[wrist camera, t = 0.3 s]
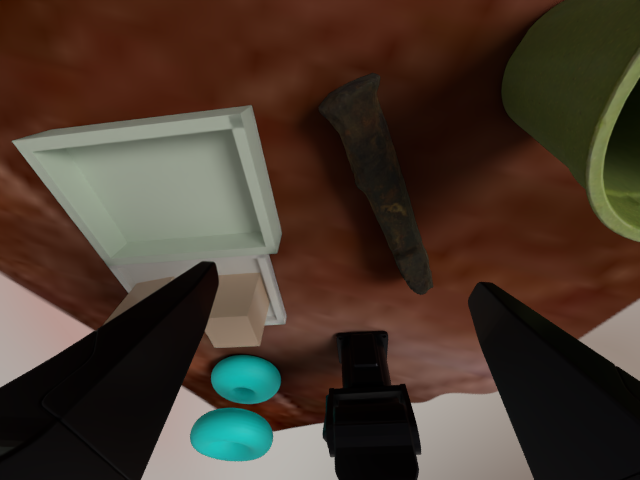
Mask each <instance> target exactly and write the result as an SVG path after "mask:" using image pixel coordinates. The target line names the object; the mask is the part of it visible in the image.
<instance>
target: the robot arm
mask: <svg viewBox="0 0 640 480" xmlns="http://www.w3.org/2000/svg"><path fill="white" fill-rule="evenodd" d="M218 286H219V277H218V271H217V266H216V263H215V262H213V261H201V262H200V263H198V264H196V265H195V266H193V267H192V268H190V269H189V270H187V271H186V272H184V273H183V274H181V275H180V276H178V277H176V278H175V279H173V280H172V281H170V282H169V283H167V284H166V285H164V286H163V287H161V288H160V289H158V290H157V291H155V292H153V293H152V294H150V295H149V296H147V297H146V298H144V299H143V300H141V301H140V302H138V303H137V304H135V305H133V306H132V307H130V308H129V309H127V310H126V311H124V312H123V313H121V314H120V315H118V316H117V317H115V318H113V319H112V320H110V321H109V322H107V323H106V324H104V325H103V326H101V327H100V328H98V329H97V331H93V332H92V333H90V334H89V335H87V336H86V337H84V338H83V339H81V340H80V341H78V342H76V343H75V344H73V345H72V346H70V347H68V348H67V349H65V350H64V351H62V352H60V353H59V354H57V355H56V356H54V357H52V358H51V359H49V360H47V361H45V362H44V363H42V364H40V365H39V366H37V367H35V368H34V369H32V370H30V371H28V372H27V373H25V374H23V375H22V376H20V377H18V378H17V379H14V380H13V381H11V382H9V383H7V384H6V385H4V386H2V387H0V480H141V478H142V476H143V473H144V471H145V469H146V466H147V464H148V462H149V459H150V457H151V455H152V452H153V450H154V447H155V445H156V443H157V441H158V438H159V436H160V434H161V431H162V429H163V427H164V424H165V422H166V420H167V417H168V415H169V413H170V410H171V408H172V406H173V403H174V401H175V399H176V396H177V394H178V392H179V389H180V387H181V385H182V383H183V380H184V378H185V376H186V373H187V371H188V369H189V366H190V364H191V362H192V359H193V357H194V355H195V352H196V350H197V348H198V345H199V343H200V341H201V338H202V336H203V334H204V331H205V329H206V326H207V323H208V320H209V316H210V313H211V310H212V306H213V303H214V300H215V296H216V293H217V290H218ZM468 305H469V309H470V312H471V316H472V319H473V323H474V326H475V330H476V333H477V337H478V340H479V343H480V346H481V349H482V352H483V354H484V357H485V359H486V362H487V364H488V366H489V369H490V371H491V374H492V376H493V379H494V381H495V384H496V386H497V389H498V391H499V394H500V396H501V399H502V401H503V404H504V406H505V408H506V411H507V413H508V416H509V418H510V421H511V423H512V426H513V428H514V431H515V433H516V436H517V438H518V441H519V443H520V445H521V448H522V451H523V453H524V455H525V458H526V460H527V463H528V465H529V467H530V470H531V473H532V475H533V478H534V480H640V381H638V380H637V379H636V378H634V377H633V376H631V375H630V374H628V373H627V372H625V371H624V370H622V369H621V368H619V367H617V366H615V365H614V364H613V363H612V362H610V361H609V360H607V359H605V358H604V357H603V356H601V355H599V354H598V353H596V352H595V351H593V350H592V349H591V348H589V347H588V346H586V345H585V344H583V343H582V342H580V341H579V340H577V339H576V338H574V337H573V336H571V335H570V334H568V333H567V332H565V331H564V330H562V329H561V328H559V327H558V326H556V325H555V324H553V323H552V322H550V321H549V320H547V319H546V318H544V317H543V316H541V315H540V314H538V313H537V312H535V311H534V310H532V309H531V308H529V307H528V306H526V305H525V304H523V303H522V302H520V301H519V300H517V299H516V298H514V297H513V296H511V295H510V294H508V293H507V292H505V291H504V290H502V289H501V288H499V287H498V286H496V285H495V284H493V283H490V282H479V283H477V285H476V286H475V288H474V290H473V291H472V293H471V295H470V297H469V299H468ZM336 339H337V347H338V355H339V362H340V363H341V364H342V383H343V388H340V389H334V388H329V395H327V396H326V414H325V420H324V427H323V439H324V440H325V441H326V442H327V445H328V448H329V453H330V457H335V472H336V475H337V477H338V479H339V480H417V478H418V473H419V468H418V462H417V457H416V455H420V454H421V445H420V439H419V433H418V428H417V424H416V420H415V416H414V413H413V409H412V406H411V402H410V399H409V395H408V392H407V389H406V385H405V384H400V385H391V380H390V375H389V370H388V364H387V348H388V333H387V332H385V331H381V332H360V333H340V334H337V335H336Z"/></svg>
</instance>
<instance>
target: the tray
mask: <svg viewBox="0 0 640 480" xmlns="http://www.w3.org/2000/svg"><path fill="white" fill-rule="evenodd" d="M201 261H213V262H215V263H216V266H217V271H218V275H230V274H245V273H261V276H262V279H263V282H264V285H265V288H266V291H267V294H268V297H269V300H270V303H269V308H268V312H267V317H266V321H265V325H280V324H285V323H286V312H285V309H284V305H283V302H282V298H281V295H280V291H279V288H278V284H277V281H276V277H275V274H274V270H273V267H272V263H271V260H270V256H269V254H263V255H249V256H236V257H222V258H209V259H195V260H182V261H168V262H155V263H141V264H128V265H114V266H108V267H109V269H110V270H111V271H112V272H113V274H114V275H115V276H116V278H117V279H118V280H119V282H120V283H121V284H122V285H123V287H124V288H125V289H126V291H127V292H128V293H129V292H130V291H131V290H132V289H133V288H134V286H135V285H136V284H137V283H141V282H146V281H151V280H157V279H162V278H167V277H173V276H174V278H176V277H178V276H180V275H181V274H183V273H184V272H186V271H187V270H189V269H190V268H192V267H193V266H195V265H196V264H198V263H200V262H201ZM106 265H107V264H106Z"/></svg>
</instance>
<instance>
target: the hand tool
mask: <svg viewBox="0 0 640 480" xmlns="http://www.w3.org/2000/svg"><path fill="white" fill-rule="evenodd" d="M379 84H380V76H379V75H377V74H374V73H371V74H369V75H366V76H363V77H360V78H358V79H356V80H353V81H351V82H349V83H347V84H345V85H343V86H341V87H339V88H338V89H336V90H334V91H333V92H331V93H329V94H328V96H327V97H326V98H325V99H324V100H323V102H322V103H321V104H320V106H319V112H320V113H321V114H322V115H323V116H324V117H325V118H326V119H328V120H329V121H330V123H331V124H332V125H333V127H334V128H335V130H337V131H338V133H339V134H340V137H341V140H342V143H343V145H344V147H345V150H346V154H347V158H348V160H349V162H350V164H351V169H352V172H353V173H354V176H355V184H356V186H357V187H358V189H360V190H362V191H363V192H364V193H365V195H366V196H367V198H368V200H369V202H370V205H371V207H372V209H373V211H374V214H375V216H376V218H377V220H378V222H379V224H380V226H381V229H382V231H383V233H384V235H385V237H386V240H387V243H388V246H389V248H390V250H391V251H392V253H393V256H394V259H395V262H396V264H397V266H398V269H399V270H400V273H401V275H402V277H403V278H404V280H405V281H406V283H407V284H408V286H409V287H410V288H411V289H412V290H413V291H414V292H415V293H417V294H420V295H422V294H425V293H426V292H427V291H428V290H429V289H430V288H433V282H432V274H431V271H430V269H429V260H428V255H427V252H426V250H425V248H424V246H423V244H422V239H421V236H420V233H419V230H418V227H417V223H416V221H415V217H414V213H413V210H412V206H411V202H410V198H409V195H408V192H407V189H406V185H405V182H404V178H403V176H402V173H401V169H400V166H399V162H398V159H397V155H396V152H395V149H394V146H393V143H392V140H391V136H390V133H389V129H388V125H387V122H386V120H385V118H384V116H383V113H382V110H381V107H380V104H379V101H378V97H377V90H378V87H379Z"/></svg>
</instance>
